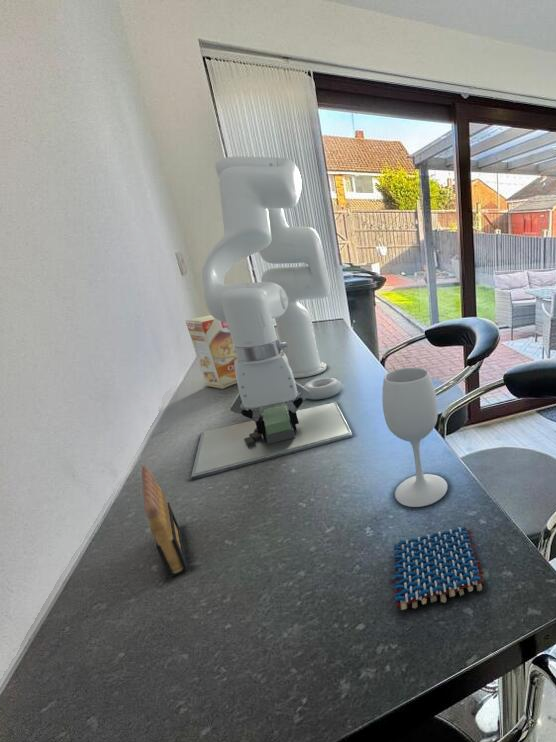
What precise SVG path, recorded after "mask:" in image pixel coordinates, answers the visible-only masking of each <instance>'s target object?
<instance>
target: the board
mask: <svg viewBox="0 0 556 742" xmlns="http://www.w3.org/2000/svg"><path fill="white" fill-rule="evenodd" d="M287 413H289V412H288V411H287ZM296 414H297V418H298V422H299V424H296V429H297V430H293V431H294V435H295V437H294V438H290V439H286V440H282V441H278V442H275V443H271V444H268V442H267V439H266V437H263V434H262V433H260V435H261V436H262V439H260V440H258V441H255V445H252V446H249V447H248V446H247V444H246V443H245V441H244V439H245V438H248V437H250V436H249V434H251V433H254V430H255V429H256V428H257V426H256V423H255V421H253V420H252V419H251V420H249V421H244V422H239V423H235V424H231V425H227V426H226V425H225V426H222V427H218V428H213V429H208V430H204V431H201V434H200V438H199V442H198V447H197V450H196V454H195V459H194V462H193V467H192V472H191V475H190V478H191V480H193V481H194V480H197V479H200V478H205V477H207V476H212V475H216V474H219V473H223V472H226V471H230V470H233V469H237V468H241V467H245V466H249V465H252V464H256V463H260V462H263V461H268V460H271V459H275V458H279V457H282V456H286V455H290V454H293V453H296V452H301V451H305V450H309V449H311V448H315V447H319V446H323V445H327V444H330V443H334V442H337V441H341V440H346V439H348V438H353V437H354V436H353V432H352V430H351V428H350V427H349V424H348V422H347V420H346V419H345V416H344V414H343V412H342V410H341V409H340V407H339V404H338V402H337V401H332V402H328V403H323V404H319V405H314V406H310V407H306V408H302V409H297V412H296ZM263 420H264V417H263Z"/></svg>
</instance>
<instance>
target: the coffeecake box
mask: <svg viewBox="0 0 556 742" xmlns="http://www.w3.org/2000/svg"><path fill="white" fill-rule="evenodd" d="M185 324H186V327H187V330H188V333H189V336H190V340H191V343H192V347H193V348H194V352H195V356H196V358H197V360H198V364H199V367H200V371H201V373H202V376H203V380H204V383H205V386H206V387H209V388H215V389H221V390H222V389H225V388H228V387H230V386H233V385H236V384H237V380H236V374H235V365H234V361H235V360H236V359H238V358H237V355H236V352H235V348H234V345H233V341H232V338H231V334H230V331H229V328H228V324H227V322H224V321H219V320H217V319H215V318H214V317H212V316H211V314H210V315H205V316H200V317H196V318H192V319H186V320H185Z"/></svg>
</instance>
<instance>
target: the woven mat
mask: <svg viewBox="0 0 556 742" xmlns="http://www.w3.org/2000/svg"><path fill="white" fill-rule="evenodd" d="M472 540H473V539H472V535H471V534H470V529H467V527H466V526H463V527H459V526H458V527H457V528H456V527H455V528H453V529H451V528H450V529H449V530H444V529H442V532H441V531H438V532H433V534H431V535H430V534H427V535H425V534H424V535H422V536H421V537H420V536H417V537H412V538H410V539H409V540H408V539H405V540H404V539H402V540H400V541H399V542H397V543H394V545H393V551H395V552H394V554H393V559H394V565H393V566H394V567H393V568H394V569H395V571H394V579H395V583H394V584H395V586H394V589H395V601H396V603H395V607H396V608H399V609H400V611H403V610H407V609H408V607H409V605H410V604H411V608H412V609H415V610H416V609H417V608H418V607H419V605H418V604H419V603H418V601H421V605H426V604H427V602H428V599H427V598H430V603H435V602H437V600H438V599H437V596H439V599H440V603H444V604H445V603H447V595H449V598H451V597H452V598H453V597H455V596H456V594H457V593H458V594H459V596H460V597H462V596H463V595H465V592H464V589H467V592H469V593H470V592H473V590H474V586H475V588H476V591H477V592H481V591H482V590H483V586H482V584H484V583H485V580H484V578H483V570H482V569H479V568H480V564H479V563H480V561H479V560H478V559H477V554H476V550H475V545H474V544H473V543H472V542H473V541H472ZM397 569H398V570H397ZM399 601H400V602H399Z"/></svg>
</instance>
